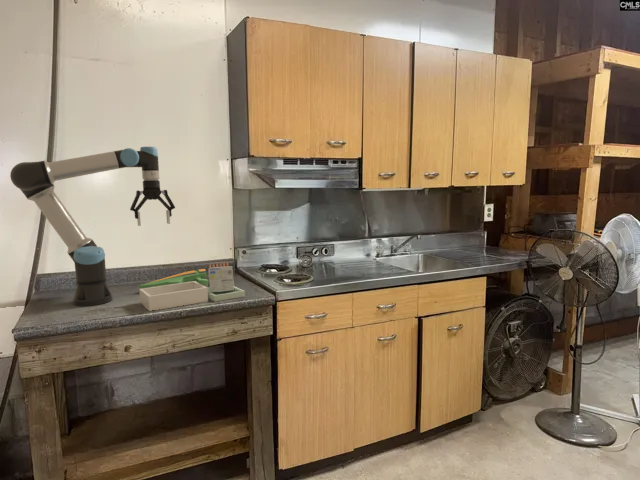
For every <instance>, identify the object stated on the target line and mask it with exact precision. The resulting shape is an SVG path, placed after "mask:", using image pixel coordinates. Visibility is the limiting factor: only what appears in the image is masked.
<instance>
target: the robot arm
mask: <svg viewBox="0 0 640 480" xmlns="http://www.w3.org/2000/svg"><path fill="white" fill-rule="evenodd" d="M159 167H160V166H159V153H158V148H157V147H155V146H141V147H140V150H135V149H133V148H131V147H130V148H129V147H127V148H124V149H120V150H114V151H113V150H112V151H107V152H102V153H96V154H91V155H84V156H79V157H72V158H69V159H68V158H67V159H66V158H65V159H60V160H57V161H56V160H55V161H51V162H48V161H46V160H40V161H24V162H19V163H17V164H15V165H14V166H13V167H12V169H11V171H10V174H9V175H10V180H11V183H12V184H13V185H14V187H16V188H18V189H19V190H20V191H21V192H22V194H24V196H25V198H26V199H27V200H28V201H32V202H34V204H35V205H36V206H37V208H39V210H40V211H41V213H42V214H43V216H45V219H46V220H47V221H48V223H49V224H50V225H51V226H52V228H53V229H54V231H55V232H56V233H57V234H58V236H59V237H60V239H61V240H62V241H63V243H64V244H65V246H66V247H67V252H66V253H67V255H68V256H69V257H70V258H71V260H72V261H73V264H74V269H75V271H74V272H75V283H76V287H75V292H74V295H73V300H72V301H73V305H74V306H78V307H88V306H89V307H90V306H97V305H99V306H100V305H103V304H107V303H110V302H111V301H113V293H112V291H111V288H110V286H109V284H108V281H107V271H106V270H107V268H106V254H105V250H104V248H103V247H100V246H98V245H97V244H96V242H95V241H94V240H93V239H92V238H90V237H87V236H86V234H85V233H84V232H83V231H82V229H81V228H80V226H79V225H78V224H77V222H76V221H75V220H74V218H73V216H72V215H71V213H70V212H69V211H68V210H67V208H66V207H65V205H64V204H63V203H62V201H61V199H60V198H59V196H57V194H56V193H55V191H54V190H55V187H56V186H55V185H54V182H55V181H62V180H66V179H67V180H68V179H72V178H77V177H81V176H88V175H93V174H98V173H101V172H103V173H104V172H108V171H112V170H118V169H123V168H124V169H125V168H141V177H142V180H143V181H142V189H143V190H136V192H135V196H134V199H133V201H132V204H131V206H130V208H129V210H130V211H131V212H134V218H135V219H137V226H139V227H140V226H141V211H140V209H141V208H142V207H143V206H144V204H145V203H146V202H147V201H148V200H149V201H151V200H155V201H156V200H158V201H159V202H160V203H161V204H162V205H163V206H164V207H165V208H166V209H165V211H166V212H165V213H166V215H165V216H166V224H167V225H170V224H171V218H172V215H173V214H172V210H174V209H176V206H175V204H174V203H173V201H172V199H171V197H170V196H169V194H168V193H169V192H168V190H167V189H163V190H161V183H160V171H159V170H160V169H159ZM161 194H162V195H163V197H165V198H164V199H166V200H164V199H163V197H161ZM142 195H143V198H142V199H141V200H140V202H139V203H138V201H139V199H140V197H141V196H142ZM166 201H167V202H166ZM137 203H138V204H137Z"/></svg>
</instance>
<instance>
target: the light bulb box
mask: <svg viewBox="0 0 640 480" xmlns="http://www.w3.org/2000/svg"><path fill="white" fill-rule="evenodd" d="M207 273H208V278H209V282H208V287H209V286H210V292H217V291H229V290H234V286H235V282H234V271H233V266H232V265H231V266H229V265H228V267H226V266H225V267H223V266H222V267H219V266H218V267H216V266H215V267H213V268H212V267H211V268H209V267H208V272H207Z"/></svg>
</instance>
